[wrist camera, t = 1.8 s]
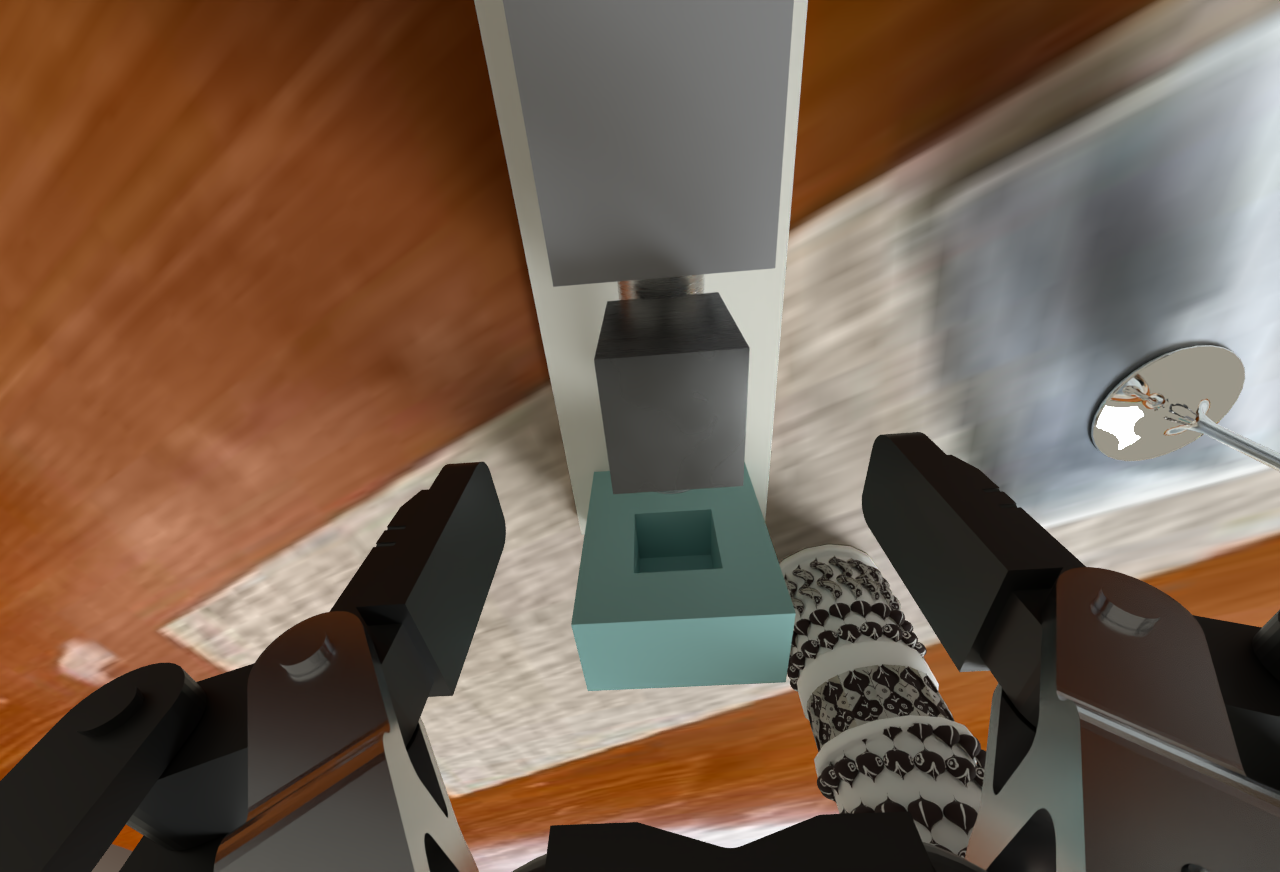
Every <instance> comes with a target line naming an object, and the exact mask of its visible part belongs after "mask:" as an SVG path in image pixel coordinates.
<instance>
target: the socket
mask: <svg viewBox="0 0 1280 872" xmlns="http://www.w3.org/2000/svg"><path fill="white" fill-rule="evenodd" d="M795 616H796V612H795V610H794V607H793V604H792V601H791V598H790V595H789V592H788V589H787V586H786V583H785V580H784V577H783V574H782V571H781V568H780V565H779V562H778V559H777V556H776V553H775V550H774V547H773V544H772V541H771V538H770V535H769V533H768V530H767V527H766V524H765V521H764V518H763V515H762V512H761V509H760V506H759V503H758V500H757V497H756V494H755V491H754V488H753V485H752V482H751V479H750V476H749V473H748V470H747V467H746V464H745V462H744V482H743V486H737V487H721V488H705V489H692V490H689V491H687V492H683V493H677V494H663V493H657V492H642V493H626V494H613V490H612V483H611V476H610V471H601V472H594V475H593V482H592V488H591V495H590V502H589V509H588V515H587V522H586V529H585V536H584V543H583V549H582V556H581V563H580V570H579V576H578V583H577V590H576V597H575V603H574V610H573V617H572V624H571V625H572V629H573V633H574V637H575V641H576V645H577V649H578V653H579V657H580V661H581V665H582V669H583V673H584V677H585V681H586V685H587V689H588V691H598V690H621V689H643V688H666V687H688V686H711V685H733V684H756V683H778V682H786V676H787V669H788V663H789V656H790V649H791V642H792V636H793V629H794V622H795Z"/></svg>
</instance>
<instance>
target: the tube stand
mask: <svg viewBox="0 0 1280 872" xmlns="http://www.w3.org/2000/svg"><path fill="white" fill-rule="evenodd" d="M474 2H475V7H476V12H477V17H478V22H479V27H480V32H481V37H482V42H483V47H484V52H485V57H486V62H487V67H488V72H489V77H490V82H491V87H492V92H493V97H494V102H495V107H496V112H497V117H498V122H499V127H500V132H501V137H502V142H503V147H504V152H505V157H506V162H507V166H508V171H509V176H510V181H511V186H512V191H513V196H514V201H515V206H516V211H517V216H518V221H519V226H520V231H521V236H522V241H523V246H524V251H525V256H526V261H527V266H528V271H529V276H530V281H531V286H532V291H533V296H534V301H535V306H536V311H537V316H538V321H539V326H540V331H541V336H542V341H543V346H544V351H545V356H546V361H547V366H548V371H549V375H550V380H551V385H552V390H553V395H554V400H555V405H556V410H557V415H558V420H559V425H560V430H561V435H562V440H563V445H564V450H565V455H566V460H567V465H568V470H569V475H570V480H571V485H572V490H573V495H574V500H575V505H576V510H577V515H578V520H579V525H580V530H581V535H585V529H586V522H587V515H588V509H589V502H590V495H591V488H592V482H593V475H594V472H601V471H610V469H609V462H608V455H607V448H606V441H605V434H604V427H603V420H602V413H601V406H600V399H599V392H598V385H597V378H596V371H595V364H594V357H595V353H596V349H597V344H598V340H599V335H600V331H601V327H602V322H603V318H604V313H605V309H606V305H607V301H616V300H619V294H618V284H617V281H629V280H641V279H653V278H665V277H677V276H689V275H701V274H704V289H705V293H714V292H718V293H719V294H720V296H721V298H722V300H723V301H724V303H725V305H726V307H727V309H728V310H729V312H730V314H731V316H732V317H733V319H734V321H735V323H736V325H737V326H738V328H739V330H740V332H741V333H742V335H743V337H744V339H745V341H746V342H747V344H748V346H749V348H750V351H749V373H748V395H747V417H746V438H745V460H744V462H745V464H746V467H747V470H748V473H749V476H750V479H751V482H752V485H753V488H754V491H755V494H756V497H757V500H758V503H759V506H760V509H761V512H762V515H763V518H764V521H765V519H766V507H767V494H768V482H769V470H770V458H771V445H772V433H773V421H774V408H775V396H776V384H777V372H778V359H779V347H780V335H781V323H782V310H783V298H784V286H785V274H786V261H787V249H788V237H789V225H790V212H791V200H792V188H793V176H794V163H795V151H796V139H797V127H798V114H799V102H800V90H801V78H802V65H803V53H804V41H805V29H806V16H807V4H808V0H474Z"/></svg>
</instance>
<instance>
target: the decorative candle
mask: <svg viewBox="0 0 1280 872" xmlns="http://www.w3.org/2000/svg"><path fill="white" fill-rule="evenodd" d="M779 565H780V568H781V571H782V574H783V577H784V580H785V583H786V586H787V589H788V592H789V595H790V598H791V601H792V604H793V607H794V610H795V612H796V616H795V622H794V629H793V636H792V642H791V649H790V656H789V663H788V669H787V674H788V677H789V678H790V679H791V681H790V685H791V687H792V688H793V689H794V690H795V691H798V692H799V697H800V700H801V704H802V707H803V711H804V714H805V717H806V718H807V719H808V720H809V721H810V725H811V728H812V731H813V735H814V738H815V741H816V745H817V748H818V752H819V753H818V754H817V756H816V757H815V759H814V761H815V767H816V772H817V776H818V779H817V785H818V788H819V789H820V791H821V792H822V794H823V795H824V796H825V797H826V798H828V799H831V800H833V801H835V802H836V803H837V806H838V810H839V813H840V814H855V813H880V812H905V811H910V813H911V816H912V818H913V820H914V823H915V825H916V828H917V830H918V832H919V835H920V837H921V840H922V842H925V843H929V844H932V845H934V846H937V847H939V848H942V849H944V850H947V851H949V852H951V853H954V854H956V855H958V856H960V857H962V858H964V859H965V855H966V850H967V846H968V843H969V839H970V836H971V833H972V830H973V827H974V825H975V822H976V819H977V816H978V812H979V808H980V803H981V796H982V787H983V778H984V769H985V760H986V751H984V750H982V749H981V746H980V743H979V741H978V740H977V739H976V738H975V737H974V736H973V735H972V734H971V733H970V731H969V730H968V729H967V728H966V726H964V725H962V724H959V723H956V722H955V721H954V719H953V716H952V714H951V712H950V711H949V709H948V707H947V705H946V703H945V702H944V700H943V699H942V697H941V696H940V694H939V692H938V685H939V684H938V682H937V681H936V679H935V677H934V675H933V674H932V672H931V670H930V668H929V666H928V665H927V663H926V661H925V659H924V657H923V656H924V655H925V654H926V648H925V646H924V645H923V644H921V643H920V642H918V638H917V636H916V635H915V634H914V633H913V632H912V631H913V626H912V624H911V623H910V622H908V621H906V620H905V616H904V614H903V612H901V611H900V608H901V604H900V602H899V600H898V599H897V598H896V597H895V596H894V595H893V594H892V592H891V590H890V586H889V583H888V582H887V581H886V580H885V579H884V578H883V577H882V575H881V573H880V571H879V569H878V568H877V566H876V565H875V563H874V562H873V561H872V559H871V558H870V557H869V555H868V554H866V553H864V552H862V551H860V550H858V549H855V548H853V547H851V546H843V545H831V544H827V545H822V546H817V547H811V548H806V549H803V550H801V551H799V552H797V553H795V554H793V555H791V556H789V557H787V558H785V559H784V560H783V561H782V562H781V563H780V564H779ZM976 763H977V764H976ZM835 814H836V813H835Z"/></svg>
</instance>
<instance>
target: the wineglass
mask: <svg viewBox="0 0 1280 872" xmlns="http://www.w3.org/2000/svg"><path fill="white" fill-rule="evenodd" d="M1244 381H1245V367H1244V365H1243V363H1242V361H1241V359H1240V358H1239V357H1238V356H1237V355H1236V354H1235V353H1234V352H1233V351H1230V350H1228V349H1226V348H1224V347H1220V346H1214V345H1197V346H1190V347H1186V348H1181V349H1177V350H1174V351H1171V352H1169V353H1166V354H1163V355H1161V356H1159V357H1157V358H1155V359H1153V360H1151V361H1149V362H1147V363H1145V364H1144V365H1142V366H1141V367H1139V368H1137V369H1136V370H1134V371H1133V372H1131V373H1130V374H1129V375H1128V376H1126V377H1125V378H1124V379H1123V380H1121V381H1120V382H1119V383H1118V384H1117V385H1116V386H1115V387H1114V388H1113V389H1112V390H1111V391H1110V392H1109V394H1108V395H1107V396H1106V397H1105V399H1104V400H1103V401H1102V403H1101V404H1100V406H1099V408H1098V410H1097V412H1096V413H1095V416H1094V419H1093V422H1092V427H1091V436H1092V440H1093V444H1094V445H1095V447H1096V448H1097V449H1098V451H1100V452H1101V453H1102V454H1104V455H1105V456H1107V457H1110V458H1112V459H1115V460H1122V461H1141V460H1147V459H1152V458H1156V457H1159V456H1162V455H1166V454H1168V453H1171V452H1173V451H1176V450H1178V449H1180V448H1182V447H1184V446H1186V445H1188V444H1190V443H1191V442H1193V441H1195V440H1196V439H1198V438H1199V437H1201V436H1202V435H1204V434H1205V435H1207V436H1209V437H1211V438H1213V439H1215V440H1217V441H1219V442H1221V443H1223V444H1225V445H1227V446H1229V447H1231V448H1233V449H1235V450H1237V451H1239V452H1241V453H1243V454H1245V455H1247V456H1249V457H1251V458H1253V459H1255V460H1257V461H1259V462H1261V463H1263V464H1265V465H1267V466H1269V467H1271V468H1273V469H1275V470H1277V471H1279V472H1280V453H1278V452H1276V451H1273V450H1271V449H1269V448H1267V447H1265V446H1263V445H1261V444H1258V443H1256V442H1254V441H1252V440H1250V439H1248V438H1246V437H1243V436H1241V435H1239V434H1237V433H1235V432H1233V431H1231V430H1229V429H1226V428H1224V427H1222V426H1220V425H1218V424H1217V423H1219V422H1220V421H1221V419H1222V418H1223V417H1224V416H1225V415H1226V414H1227V413H1228V412H1229V411H1230V409H1231V408H1232V407H1233V405H1234V404H1235V402H1236V401H1237V399H1238V397H1239V395H1240V393H1241V391H1242V389H1243V385H1244Z"/></svg>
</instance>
